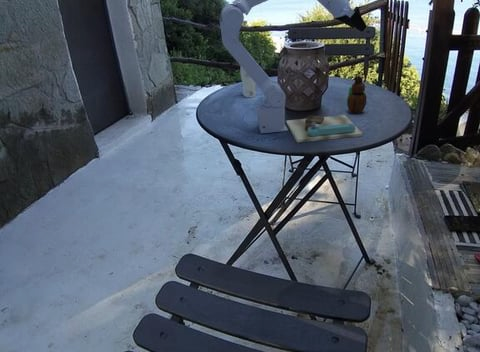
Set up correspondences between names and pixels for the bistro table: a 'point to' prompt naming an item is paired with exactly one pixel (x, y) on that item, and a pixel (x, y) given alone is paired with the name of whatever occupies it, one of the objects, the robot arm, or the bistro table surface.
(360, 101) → the wooden figurine
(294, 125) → the birch plate
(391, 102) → the bistro table surface
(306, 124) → the walnut keeper
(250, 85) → the beer glass
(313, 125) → the teal link
